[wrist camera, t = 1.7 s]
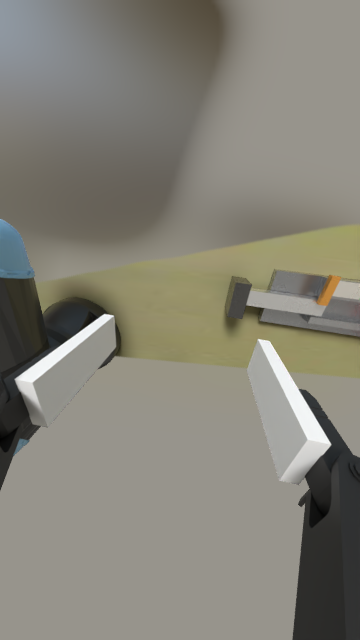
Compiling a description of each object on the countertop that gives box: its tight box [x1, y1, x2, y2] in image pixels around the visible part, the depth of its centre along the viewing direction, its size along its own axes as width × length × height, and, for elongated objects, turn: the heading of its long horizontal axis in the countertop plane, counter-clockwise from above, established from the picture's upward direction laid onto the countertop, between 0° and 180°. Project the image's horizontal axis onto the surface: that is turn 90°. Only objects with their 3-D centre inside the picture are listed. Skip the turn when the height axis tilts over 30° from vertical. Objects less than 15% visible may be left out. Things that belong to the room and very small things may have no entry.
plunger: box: [225, 275, 341, 319], centre depth 24 cm, size 13×7×4 cm, turn 84°
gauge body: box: [258, 269, 360, 337], centre depth 25 cm, size 20×8×4 cm, turn 84°
